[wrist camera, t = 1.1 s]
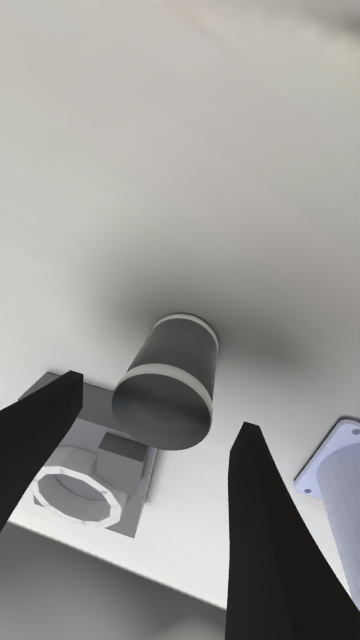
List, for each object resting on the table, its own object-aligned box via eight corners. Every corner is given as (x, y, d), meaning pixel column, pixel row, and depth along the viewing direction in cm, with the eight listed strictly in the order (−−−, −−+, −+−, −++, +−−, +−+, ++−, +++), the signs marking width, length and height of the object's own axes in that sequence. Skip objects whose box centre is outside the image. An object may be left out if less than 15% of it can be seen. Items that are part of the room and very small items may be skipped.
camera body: (167, 408, 19) (150, 464, 15) (144, 502, 25) (128, 559, 21) (47, 372, 20) (-1, 416, 16) (54, 472, 26) (22, 521, 22)
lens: (227, 323, 15) (224, 392, 9) (208, 379, 17) (197, 462, 12) (155, 304, 15) (114, 361, 10) (146, 361, 17) (107, 433, 12)
